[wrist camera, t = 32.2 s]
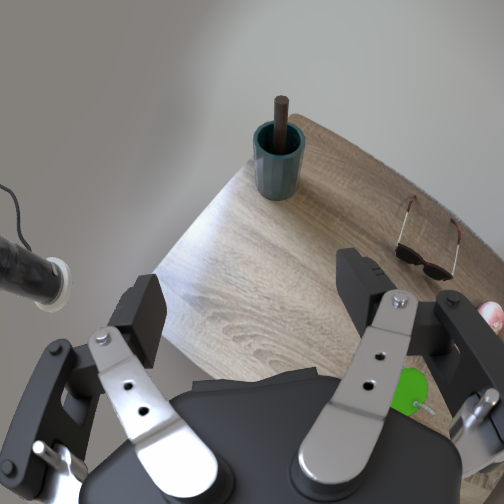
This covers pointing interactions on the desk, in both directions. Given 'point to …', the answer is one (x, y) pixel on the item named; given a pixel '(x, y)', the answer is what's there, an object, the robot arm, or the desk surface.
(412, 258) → the sunglasses
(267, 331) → the desk surface
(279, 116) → the brush
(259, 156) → the pencil holder
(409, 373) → the cup
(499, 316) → the pink round piece
